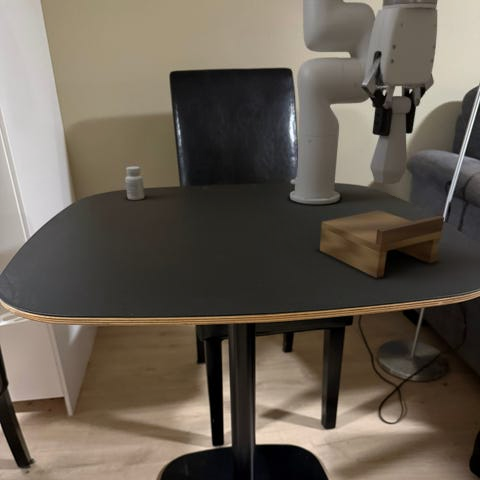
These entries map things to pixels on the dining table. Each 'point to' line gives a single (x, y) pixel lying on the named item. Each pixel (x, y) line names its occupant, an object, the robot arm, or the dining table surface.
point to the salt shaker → (392, 146)
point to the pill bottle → (134, 183)
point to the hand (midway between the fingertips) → (392, 132)
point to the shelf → (379, 239)
